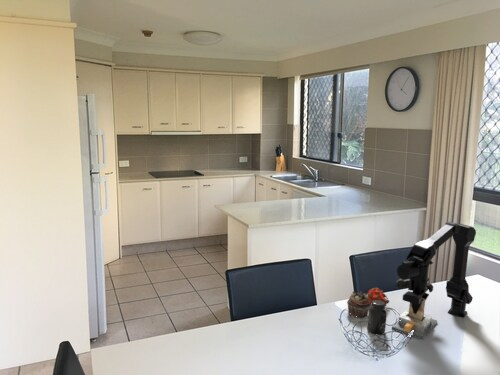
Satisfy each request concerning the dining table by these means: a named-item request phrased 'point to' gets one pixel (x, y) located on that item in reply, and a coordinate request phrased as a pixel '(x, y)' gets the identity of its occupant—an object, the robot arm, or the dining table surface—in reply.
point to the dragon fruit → (377, 295)
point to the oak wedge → (420, 312)
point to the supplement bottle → (377, 318)
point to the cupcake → (358, 304)
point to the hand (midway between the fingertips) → (416, 312)
